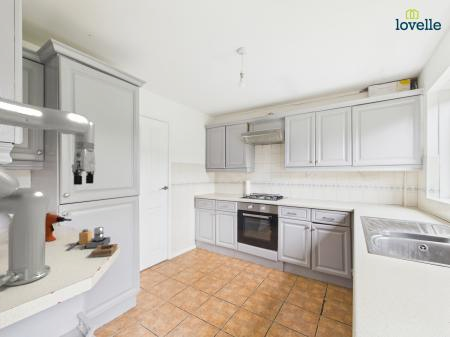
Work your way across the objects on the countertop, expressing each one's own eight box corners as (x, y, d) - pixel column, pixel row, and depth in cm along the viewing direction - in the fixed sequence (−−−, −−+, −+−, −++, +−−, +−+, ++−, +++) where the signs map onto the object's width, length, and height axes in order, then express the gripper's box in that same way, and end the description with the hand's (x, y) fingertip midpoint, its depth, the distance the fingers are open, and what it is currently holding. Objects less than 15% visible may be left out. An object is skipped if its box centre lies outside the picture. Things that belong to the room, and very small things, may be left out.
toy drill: (66, 244, 105) (66, 215, 105) (37, 242, 108) (37, 213, 108) (75, 241, 109) (75, 213, 109) (47, 239, 113) (47, 211, 113)
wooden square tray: (111, 255, 91) (111, 250, 91) (91, 257, 90) (91, 251, 90) (117, 248, 99) (117, 243, 99) (99, 250, 98) (99, 245, 98)
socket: (104, 247, 101) (104, 242, 101) (86, 248, 100) (86, 243, 100) (110, 241, 109) (110, 237, 109) (93, 242, 107) (93, 237, 107)
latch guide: (84, 249, 98) (84, 247, 98) (67, 250, 97) (67, 248, 97) (95, 240, 111) (95, 238, 111) (81, 241, 110) (81, 239, 110)
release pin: (87, 244, 105) (87, 230, 105) (79, 244, 104) (79, 231, 104) (91, 241, 109) (91, 228, 109) (83, 242, 108) (83, 228, 108)
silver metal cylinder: (101, 245, 103) (101, 229, 103) (92, 245, 102) (92, 229, 102) (104, 242, 107) (104, 226, 107) (96, 242, 106) (96, 227, 106)
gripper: (82, 145, 88) (82, 185, 88) (102, 149, 106) (101, 183, 105) (63, 144, 87) (63, 185, 87) (86, 149, 105) (85, 183, 104)
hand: (84, 184), depth 96 cm, fingers open, 9 cm apart
